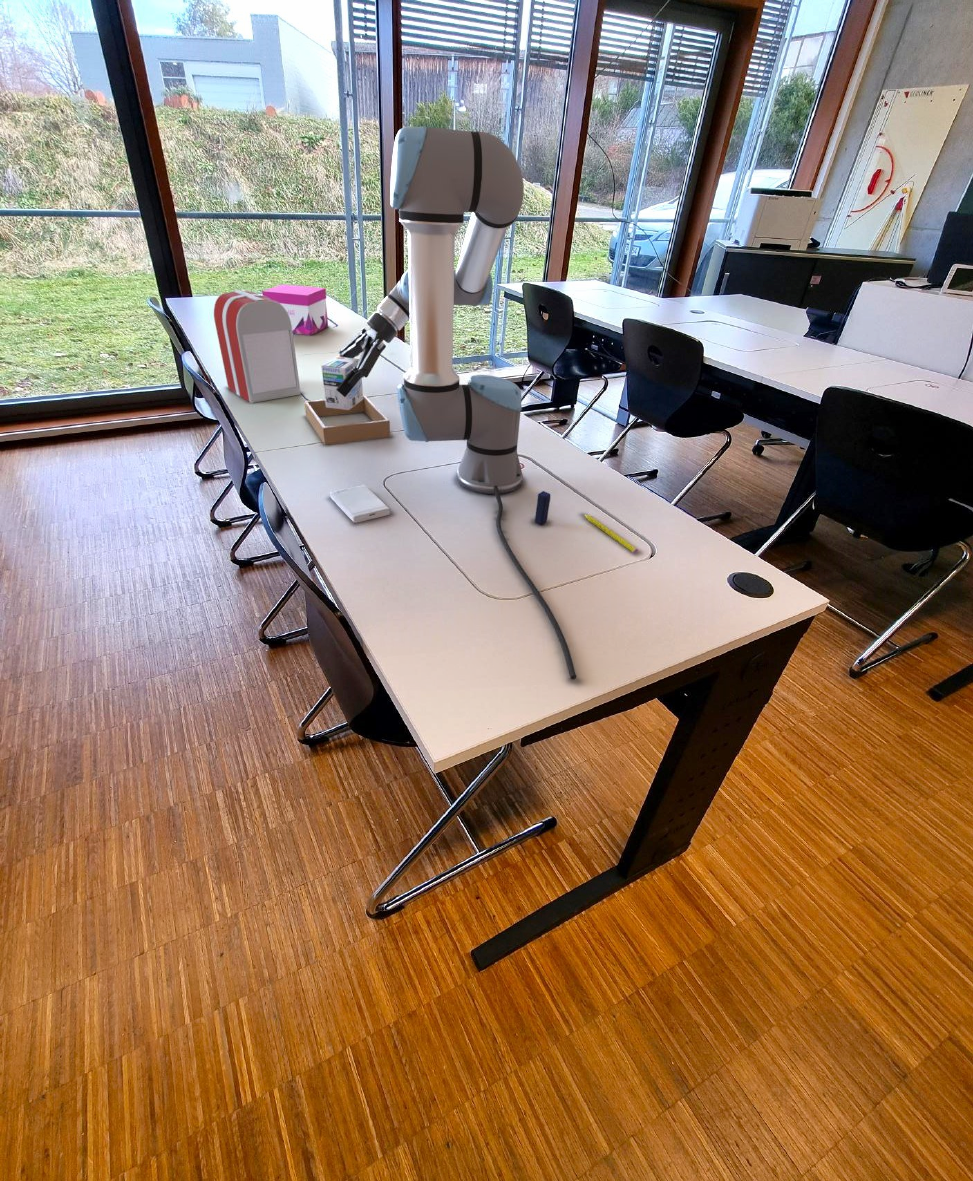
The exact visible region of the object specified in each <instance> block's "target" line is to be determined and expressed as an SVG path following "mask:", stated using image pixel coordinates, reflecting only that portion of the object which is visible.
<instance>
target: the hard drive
mask: <svg viewBox="0 0 973 1181" xmlns="http://www.w3.org/2000/svg"><path fill="white" fill-rule="evenodd" d="M329 497H330V499H331V500H332V501H333V502H334V503H335V504H336V505H337V506H338V508H339V509H340V510H341V511H342V512H343V513H344V514H345V515H346V516H347V517H348V518H349V519H350V520H351V522H353V524H357V523H361V522H365V521H369V520H373V519H377V518H381V517H382V518H383V517H386V516H390V515H391V508H390V507H388V505H387V504H386V503H385V502H383V501H382V499H380V498H379V497H378V496H377V495H376V494H375V493H374V492H373V491H372V490H371V489H370V488H368V486H367V485H366V484H360V485H357V486H352V487H347V488H343V489H339V490H333V491H331V492H330V493H329Z"/></svg>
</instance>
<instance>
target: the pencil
mask: <svg viewBox="0 0 973 1181" xmlns="http://www.w3.org/2000/svg"><path fill="white" fill-rule="evenodd" d="M584 517H585V518H586V520H587V521H589V522H590V523H591V524H593V525H594V526H595V527H597V528H598V529H599V530H601V531H603V532H604V533H605V534H607V535H608V536H609V537H611V538H612V539H613V540H615V541H616V542H618V543H619V544H620V545H622V546H623V547H625V548H626V549H627V550H629V551H630V552H631V553H633V554H636V553H638V551H639V550H638V548H636V547H635V546H634V545H632V544H631V543H629V542H628V541H627V540H625V539H624V538H622V537H621V536H619V535H618V534H616V533H615V532H613V531H612V530H611V529H610V528H608V527H607V526H605V525H604V524H603V523H601V522H600V521H598V520H597V519H595V518H594V517H593V516H592V515H589V514H584Z"/></svg>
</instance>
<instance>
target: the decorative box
mask: <svg viewBox="0 0 973 1181" xmlns="http://www.w3.org/2000/svg"><path fill="white" fill-rule="evenodd" d="M261 295H263V296H266V297H268V298H270V299H271V300H274V301H276V302H278V303H280V304H281V305H282V306H283V307H284V308H285V309H286V311H287V313H288V315H289V317H290V320H291V325H292V331H293V334H297V335H306V336H307V335H308V336H312V335H315V334H316V333H317V332H320V331H321V330H324V329H325V328H327V327H329V321H328V311H327V301H326V299H327V289H326V287H315V286H307V285H306V286H305V285H295V284H286V283H282V284H279V285H276V286H273V287H269V288H267V289H264V290H262V291H261Z"/></svg>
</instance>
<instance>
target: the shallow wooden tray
mask: <svg viewBox="0 0 973 1181" xmlns="http://www.w3.org/2000/svg"><path fill="white" fill-rule="evenodd" d="M303 403H304V412H305V417H306V419H307V421H308V422H309V423H310V424H311V427H312V428H313V430H314V432H316V434H317V435H318V437H319V439H320V440H321V441H322V443H323V444H324V446H327V445H335V444H344V443H353V442H360V441H368V440H369V441H370V440H375V439H377V440H378V439H384V438H391V421H390V419H389V418H388V417H387V416H386V415H385V414H384V413H383V412H382V411H381V410H380V409H379V408H378V407H377V406H376V405H375V404H374V402H372V400H371V399H369V397H367V395H363V400H362V401H360V402H359V403H358V404H356V405H355V406H354V407H352V408H351V409H350V410H343V409H335V408H327V407H326V403H325V398H324V399H313V400H304V401H303ZM358 413H365V414H366V415H367V417H369V418H370V420H371V421H364V422H356V423H346V424H335V425H328V426H327V425H325V424H324V422H323V421H322V420H321V419H320V417H327V416H329V417H330V416H338V415H339V416H341V415H348V414H349V415H350V414H358Z"/></svg>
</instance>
